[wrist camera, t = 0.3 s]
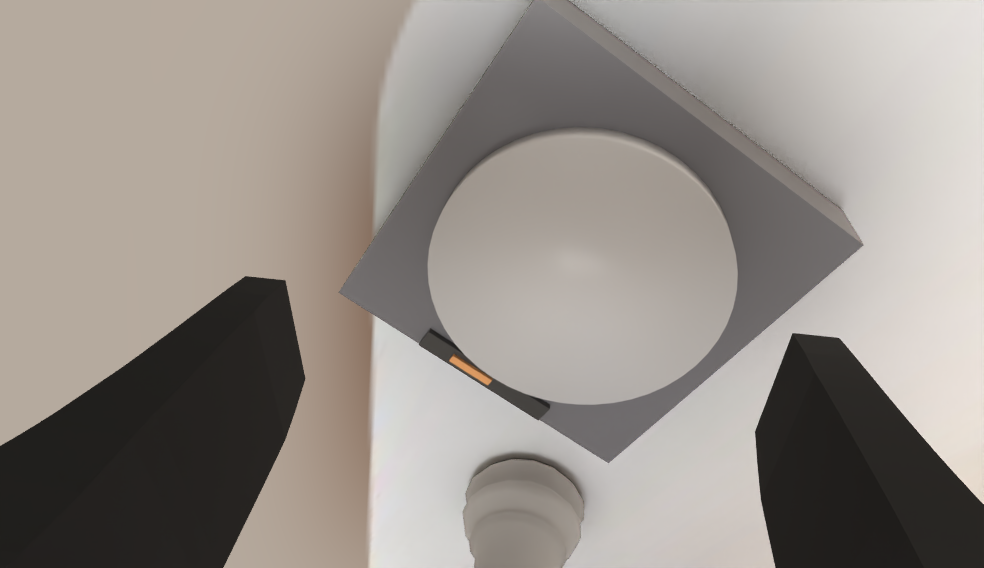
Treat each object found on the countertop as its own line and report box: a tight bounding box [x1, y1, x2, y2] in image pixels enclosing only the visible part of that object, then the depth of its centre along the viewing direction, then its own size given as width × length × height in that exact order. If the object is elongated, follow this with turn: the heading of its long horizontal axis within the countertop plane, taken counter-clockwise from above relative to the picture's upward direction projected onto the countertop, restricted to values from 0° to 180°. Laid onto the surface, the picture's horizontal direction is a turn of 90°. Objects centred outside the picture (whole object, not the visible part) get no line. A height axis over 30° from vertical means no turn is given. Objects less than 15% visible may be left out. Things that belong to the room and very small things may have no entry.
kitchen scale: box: [339, 0, 863, 463], centre depth 20 cm, size 10×10×3 cm
